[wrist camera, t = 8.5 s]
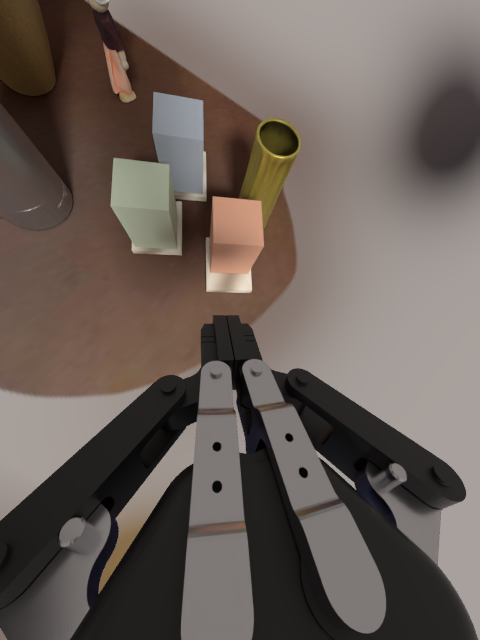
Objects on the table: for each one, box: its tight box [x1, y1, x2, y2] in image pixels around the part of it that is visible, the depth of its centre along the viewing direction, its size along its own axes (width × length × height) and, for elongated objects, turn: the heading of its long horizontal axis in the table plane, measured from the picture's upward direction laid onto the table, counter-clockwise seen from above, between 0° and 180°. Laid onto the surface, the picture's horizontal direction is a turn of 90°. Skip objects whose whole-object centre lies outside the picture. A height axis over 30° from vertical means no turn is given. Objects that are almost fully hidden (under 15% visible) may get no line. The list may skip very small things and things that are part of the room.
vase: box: [238, 118, 301, 229], centre depth 30 cm, size 6×6×14 cm
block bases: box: [132, 152, 252, 293], centre depth 35 cm, size 18×25×1 cm
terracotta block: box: [210, 196, 264, 274], centre depth 30 cm, size 6×6×9 cm
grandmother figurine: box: [88, 0, 136, 103], centre depth 31 cm, size 8×4×13 cm, turn 42°
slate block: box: [152, 92, 203, 194], centre depth 30 cm, size 6×6×9 cm
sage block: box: [111, 158, 178, 249], centre depth 28 cm, size 6×6×9 cm
